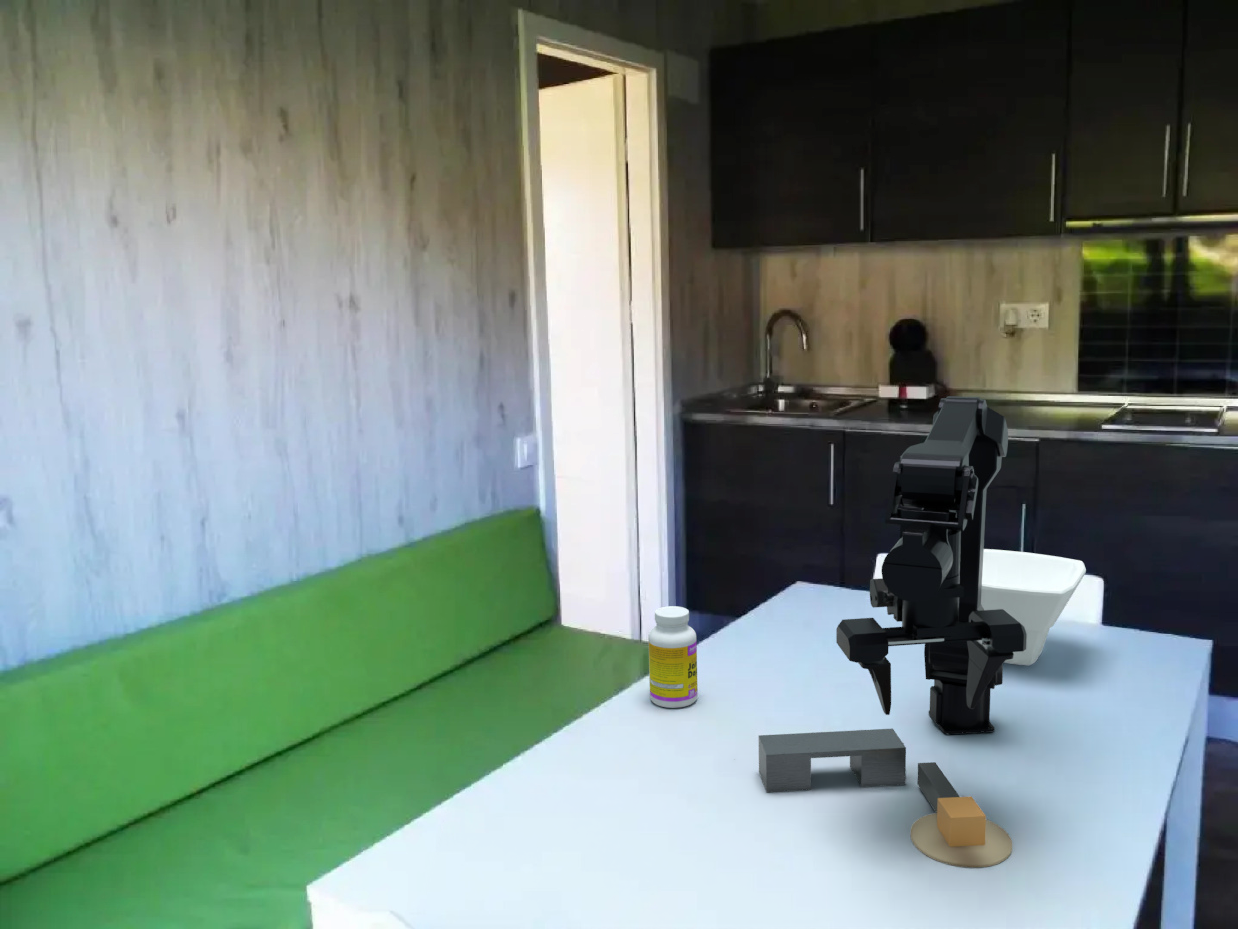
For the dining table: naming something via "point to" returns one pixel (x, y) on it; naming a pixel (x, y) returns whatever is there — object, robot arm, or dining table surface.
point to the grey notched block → (870, 756)
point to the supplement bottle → (672, 659)
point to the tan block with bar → (952, 808)
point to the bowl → (1029, 592)
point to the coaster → (975, 856)
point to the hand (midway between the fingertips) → (928, 710)
